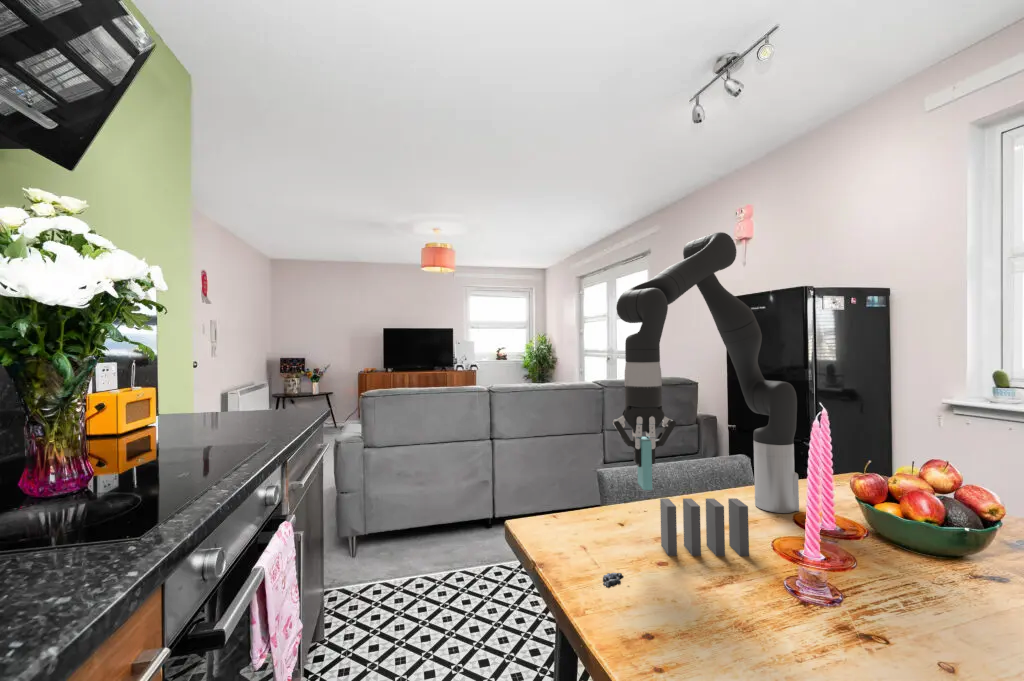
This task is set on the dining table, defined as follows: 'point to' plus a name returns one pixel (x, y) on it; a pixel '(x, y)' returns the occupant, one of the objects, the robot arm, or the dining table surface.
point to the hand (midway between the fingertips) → (644, 465)
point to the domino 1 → (668, 526)
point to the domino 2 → (692, 526)
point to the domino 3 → (715, 527)
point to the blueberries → (612, 579)
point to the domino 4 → (738, 527)
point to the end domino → (645, 465)
